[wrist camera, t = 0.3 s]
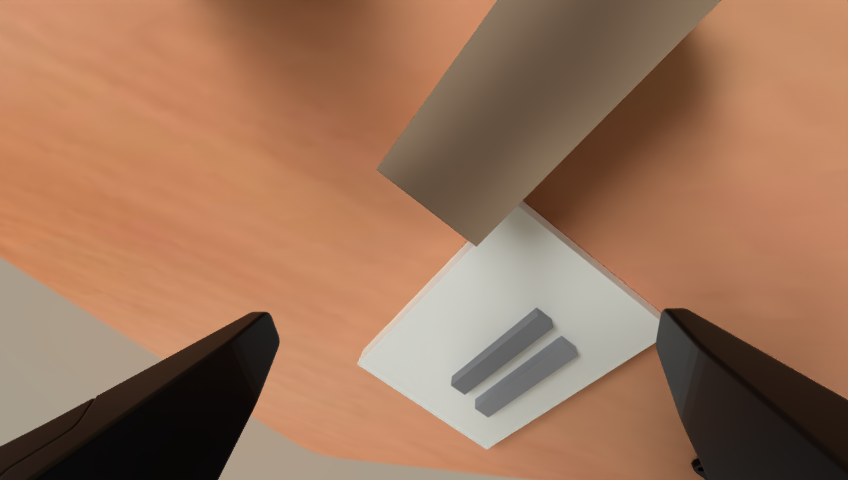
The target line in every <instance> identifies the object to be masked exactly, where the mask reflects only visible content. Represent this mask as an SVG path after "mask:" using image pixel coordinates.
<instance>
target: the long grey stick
mask: <svg viewBox="0 0 848 480" xmlns="http://www.w3.org/2000/svg"><path fill="white" fill-rule="evenodd" d="M577 356H578V353H577V349H576V346H575V345H573V344H572V343H571V342H569V341H568V340H567V339H565V338H564V337H563V336H560V337H559V338H557V339H556V340H554V341H553V342H552V343H550V344H549V345H548V346H546V347H545V348H544V349H542V350H541V351H540V352H538V353H537V354H535V355H534V356H533V357H531V358H530V359H529V360H527V361H526V362H525V363H523V364H522V365H521V366H519V367H518V368H517V369H515V370H514V371H512V372H511V373H510V374H508V375H507V376H506V377H504V378H503V379H502V380H500V381H499V382H498V383H496V384H495V385H494V386H492V387H491V388H489V389H488V390H487V391H485V392H484V393H483V394H481V395H480V396H479V397H477V398H476V399H475V409H476V410H478V411H479V412H481V413H482V414H483V415H485V416H486V417H490V416H491V415H493V414H494V413H496V412H497V411H499V410H500V409H501V408H503V407H504V406H506V405H507V404H509V403H510V402H512V401H513V400H515V399H516V398H517V397H519V396H520V395H522V394H523V393H525V392H526V391H528V390H529V389H531V388H532V387H533V386H535V385H536V384H538V383H539V382H541V381H542V380H544V379H545V378H546V377H548V376H549V375H551V374H552V373H554V372H555V371H557V370H558V369H560V368H561V367H562V366H564V365H565V364H567V363H568V362H570V361H571V360H573V359H574V358H576V357H577Z"/></svg>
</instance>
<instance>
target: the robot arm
mask: <svg viewBox="0 0 848 480" xmlns="http://www.w3.org/2000/svg"><path fill="white" fill-rule="evenodd" d="M278 347H279V335H278V332H277V330H276V327H275V325H274V322H273V319H272V317H271V315H270V314H269V313H268V312H251V313H249V314H247V315H245V316H244V317H242V318H240V319H238V320H236V321H234V322H232V323H231V324H229V325H227V326H225V327H223V328H221V329H220V330H218V331H216V332H214V333H212V334H210V335H209V336H207V337H205V338H203V339H201V340H199V341H197V342H196V343H194V344H192V345H190V346H188V347H186V348H185V349H183V350H181V351H179V352H177V353H175V354H174V355H172V356H170V357H168V358H166V359H164V360H162V361H161V362H159V363H157V364H155V365H153V366H151V367H150V368H148V369H146V370H144V371H142V372H140V373H139V374H137V375H135V376H133V377H131V378H129V379H127V380H126V381H124V382H122V383H120V384H118V385H116V386H115V387H113V388H111V389H109V390H107V391H105V392H103V393H102V394H100V395H98V396H97V397H96V398H95V399H91V400H89V401H87V402H85V403H83V404H81V405H80V406H78V407H76V408H74V409H72V410H70V411H68V412H66V413H64V414H63V415H61V416H59V417H57V418H55V419H53V420H51V421H49V422H47V423H46V424H44V425H42V426H40V427H38V428H36V429H34V430H32V431H30V432H28V433H26V434H24V435H22V436H20V437H18V438H16V439H14V440H12V441H10V442H8V443H6V444H4V445H2V446H0V480H218V479H219V477H220V475H221V473H222V471H223V469H224V467H225V465H226V463H227V461H228V459H229V457H230V455H231V453H232V451H233V449H234V447H235V445H236V443H237V441H238V439H239V437H240V435H241V433H242V431H243V429H244V427H245V425H246V423H247V421H248V419H249V417H250V415H251V413H252V411H253V409H254V407H255V405H256V403H257V401H258V398H259V396H260V393H261V391H262V388H263V386H264V383H265V381H266V378H267V376H268V373H269V370H270V368H271V365H272V363H273V360H274V357H275V355H276V352H277V350H278ZM656 347H657V351H658V354H659V357H660V360H661V363H662V366H663V369H664V372H665V375H666V378H667V381H668V384H669V387H670V390H671V393H672V396H673V399H674V402H675V405H676V408H677V410H678V413H679V416H680V419H681V421H682V423H683V426H684V428H685V430H686V432H687V435H688V437H689V439H690V441H691V443H692V445H693V447H694V449H695V452H696V454H697V456H698V458H699V459H697V460H694V461H693V462H692V463H691V465H692V467H693V469H694V471H695V472H696V473H697V474H699V475H700V476H701V477H703V478H704V479H706V480H848V400H847V399H845V398H843V397H842V396H840V395H838V394H836V393H834V392H833V391H831V390H829V389H827V388H826V387H824V386H822V385H820V384H819V383H817V382H815V381H813V380H812V379H810V378H808V377H806V376H804V375H803V374H801V373H799V372H797V371H796V370H794V369H792V368H790V367H789V366H787V365H785V364H783V363H781V362H780V361H778V360H776V359H774V358H773V357H771V356H769V355H767V354H766V353H764V352H762V351H760V350H759V349H757V348H755V347H753V346H751V345H750V344H748V343H746V342H744V341H743V340H741V339H739V338H737V337H736V336H734V335H732V334H730V333H728V332H727V331H725V330H723V329H721V328H720V327H718V326H716V325H714V324H713V323H711V322H709V321H707V320H706V319H704V318H702V317H700V316H698V315H697V314H695V313H693V312H691V311H690V310H688V309H684V308H667V309H664V310H663V311H662V313H661V316H660V321H659V327H658V332H657V337H656Z"/></svg>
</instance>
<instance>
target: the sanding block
mask: <svg viewBox="0 0 848 480" xmlns="http://www.w3.org/2000/svg"><path fill="white" fill-rule="evenodd" d="M720 1H721V0H497V2H496V3H495V4H494V6H493V7H492V9H491V10H490V11H489V13H488V14H487V16H486V17H485V18H484V20H483V21H482V23H481V24H480V25H479V27H478V28H477V30H476V31H475V32H474V34H473V35H472V36H471V38H470V39H469V41H468V42H467V43H466V45H465V46H464V48H463V49H462V50H461V52H460V53H459V55H458V56H457V57H456V59H455V60H454V62H453V63H452V64H451V66H450V67H449V69H448V70H447V71H446V73H445V74H444V76H443V77H442V78H441V80H440V81H439V83H438V84H437V85H436V87H435V88H434V90H433V91H432V92H431V94H430V95H429V97H428V98H427V99H426V101H425V102H424V103H423V105H422V106H421V108H420V109H419V110H418V112H417V113H416V115H415V116H414V117H413V119H412V120H411V122H410V123H409V124H408V126H407V127H406V129H405V130H404V131H403V133H402V134H401V136H400V137H399V138H398V140H397V141H396V143H395V144H394V145H393V147H392V148H391V150H390V151H389V152H388V154H387V155H386V157H385V158H384V159H383V161H382V162H381V164H380V165H379V166H378V168H377V169H376V170H377V171H379V172H380V173H381V174H383V175H384V176H385V177H386V178H388V179H389V180H390V181H392V182H393V183H394V184H395V185H397V186H398V187H399V188H401V189H402V190H403V191H405V192H406V193H407V194H408V195H410V196H411V197H412V198H414V199H415V200H416V201H418V202H419V203H420V204H421V205H423V206H424V207H425V208H427V209H428V210H429V211H431V212H432V213H433V214H434V215H436V216H437V217H438V218H440V219H441V220H442V221H444V222H445V223H446V224H447V225H449V226H450V227H451V228H453V229H454V230H455V231H457V232H458V233H459V234H460V235H462V236H463V237H464V238H466V239H467V240H468V241H469V242H471V243H472V244H473V245H475V246H476V247H477V246H478V245H479V244H480V243H481V242H482V241H483V240H484V239H485V238H486V237H487V236H488V235H489V234H490V233H491V232H492V231H493V230H494V229H495V228H496V227H497V226H498V225H499V224H500V223H501V222H502V221H503V220H504V219H505V218H506V217H507V216H508V215H509V214H510V213H511V212H512V211H513V210H514V209H515V208H516V207H517V206H518V205H519V204H520V203H521V202H522V200H523V199H524V198H525V197H526V196H527V195H528V194H529V193H530V192H531V191H532V190H533V189H534V188H535V187H536V186H537V185H538V184H539V183H540V182H541V181H542V180H543V179H544V178H545V177H546V176H547V175H548V174H549V173H550V172H551V171H552V170H553V169H554V168H555V167H556V166H557V165H558V164H559V163H560V162H561V161H562V160H563V159H564V158H565V157H566V156H567V155H568V154H569V153H570V152H571V151H572V150H573V149H574V148H575V147H576V146H577V145H578V144H579V143H580V142H581V141H582V140H583V139H584V138H585V137H586V136H587V135H588V134H589V133H590V132H591V131H592V130H593V129H594V128H595V127H596V126H597V125H598V124H599V123H600V122H601V121H602V120H603V119H604V118H605V117H606V116H607V115H608V114H609V113H610V112H611V111H612V110H613V109H614V108H615V107H616V106H617V105H618V104H619V103H620V102H621V101H622V100H623V99H624V98H625V97H626V96H627V95H628V94H629V93H630V92H631V91H632V90H633V89H634V88H635V87H636V86H637V85H638V84H639V83H640V82H641V81H642V80H643V79H644V78H645V77H646V76H647V75H648V74H649V73H650V72H651V71H652V70H653V69H654V68H655V67H656V66H657V65H658V64H659V63H660V62H661V61H662V60H663V59H664V58H665V57H666V56H667V55H668V54H669V53H670V52H671V51H672V50H673V49H674V48H675V46H676V45H677V44H678V43H679V42H680V41H681V40H682V39H683V38H684V37H685V36H686V35H687V34H688V33H689V32H690V31H691V30H692V29H693V28H694V27H695V26H696V25H697V24H698V23H699V22H700V21H701V20H702V19H703V18H704V17H705V16H706V15H707V14H708V13H709V12H710V11H711V10H712V9H713V8H714V7H715V6H716V5H717V4H718V3H719V2H720Z"/></svg>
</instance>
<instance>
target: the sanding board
mask: <svg viewBox="0 0 848 480" xmlns="http://www.w3.org/2000/svg"><path fill="white" fill-rule="evenodd" d="M536 307H537V308H538V309H539V310H541V311H542V312H543V313H545V314H546V315H547V316H549V317H550V318H551V319H552V323H553V328H552V329H551V330H550V331H548V332H547V333H546V334H544V335H543V336H542V337H540V338H539V339H538V340H536V341H535V342H534V343H532V344H531V345H530V346H528V347H527V348H526V349H525V350H523V351H522V352H521V353H519V354H518V355H517V356H515V357H514V358H513V359H511V360H510V361H509V362H507V363H506V364H505V365H503V366H502V367H501V368H500V369H498V370H497V371H496V372H494V373H493V374H492V375H490V376H489V377H488V378H486V379H485V380H484V381H482V382H481V383H480V384H478V385H477V386H476V387H475V388H473V389H472V390H471V391H469V392H468V393H467V394H465V395H464V394H463V393H461V392H460V391H458V390H457V389H455V388H454V387H452V386H451V380H452V376H453V375H454V374H455V373H457V372H458V371H459V370H460V369H462V368H463V367H464V366H465V365H466V364H468V363H469V362H470V361H471V360H473V359H474V358H475V357H476V356H477V355H479V354H480V353H481V352H482V351H484V350H485V349H486V348H487V347H489V346H490V345H491V344H492V343H493V342H495V341H496V340H497V339H498V338H500V337H501V336H502V335H503V334H505V333H506V332H507V331H508V330H509V329H511V328H512V327H513V326H514V325H516V324H517V323H518V322H519V321H520V320H522V319H523V318H524V317H525V316H527V315H528V314H529V313H530V312H532V311H533V310H534V309H535V308H536ZM660 316H661V313H660V312H659V311H658V310H656V309H655V308H654V307H653V306H652V305H650V304H649V303H648V302H647V301H645V300H644V299H643V298H642V297H640V296H639V295H638V294H637V293H636V292H634V291H633V290H632V289H631V288H629V287H628V286H627V285H626V284H624V283H623V282H622V281H621V280H620V279H618V278H617V277H616V276H615V275H613V274H612V273H611V272H610V271H608V270H607V269H606V268H605V267H604V266H602V265H601V264H600V263H599V262H597V261H596V260H595V259H594V258H592V257H591V256H590V255H589V254H588V253H586V252H585V251H584V250H583V249H581V248H580V247H579V246H578V245H576V244H575V243H574V242H573V241H572V240H570V239H569V238H568V237H567V236H565V235H564V234H563V233H562V232H560V231H559V230H558V229H557V228H556V227H554V226H553V225H552V224H551V223H549V222H548V221H547V220H546V219H544V218H543V217H542V216H541V215H540V214H538V213H537V212H536V211H535V210H533V209H532V208H531V207H530V206H528V205H527V204H526V203H525V202H524V201H522V202H521V203H520V204H519V205H518V206H517V207H516V208H515V209H514V210H513V211H512V212H511V213H510V214H509V215H508V216H507V217H506V218H505V219H504V220H503V221H502V222H501V223H500V224H499V225H498V226H497V227H496V228H495V229H494V230H493V231H492V232H491V233H490V234H489V235H488V236H487V237H486V238H485V239H484V240H483V241H482V242H481V243H480V244H479V245H478V246H477V247H476V246H475V245H473V244H472V243H471V242H469V241H468V242H467V243H466V244H465V245H464V246H463V247H462V248H461V249H460V250H459V251H458V252H457V253H456V254H455V255H454V256H453V257H452V258H451V259H450V260H449V261H448V262H447V264H446V265H445V266H444V267H443V268H442V269H441V270H440V271H439V272H438V273H437V274H436V275H435V276H434V277H433V278H432V279H431V280H430V281H429V282H428V283H427V284H426V285H425V286H424V287H423V288H422V289H421V290H420V291H419V293H418V294H417V295H416V296H415V297H414V298H413V299H412V300H411V301H410V302H409V303H408V304H407V305H406V306H405V307H404V308H403V309H402V310H401V311H400V312H399V313H398V314H397V315H396V316H395V317H394V318H393V319H392V321H391V322H390V323H389V324H388V325H387V326H386V327H385V328H384V329H383V330H382V331H381V332H380V333H379V334H378V335H377V336H376V337H375V338H374V339H373V340H372V341H371V342H370V343H369V344H368V345H367V346H366V347H365V348H364V350H363V352H362V354H361V357H360V359H359V361H358V365H359V366H361V367H362V368H364V369H365V370H367V371H368V372H370V373H371V374H373V375H374V376H376V377H377V378H379V379H380V380H382V381H383V382H385V383H386V384H388V385H389V386H391V387H392V388H394V389H396V390H397V391H399V392H400V393H402V394H403V395H405V396H406V397H408V398H409V399H411V400H412V401H414V402H415V403H417V404H418V405H420V406H421V407H423V408H424V409H426V410H427V411H429V412H430V413H432V414H433V415H435V416H436V417H438V418H439V419H441V420H443V421H444V422H446V423H447V424H449V425H450V426H452V427H453V428H455V429H456V430H458V431H459V432H461V433H462V434H464V435H465V436H467V437H468V438H470V439H471V440H473V441H474V442H476V443H477V444H479V445H480V446H482V447H483V448H485V449H488V448H490V447H492V446H493V445H495V444H496V443H498V442H499V441H501V440H503V439H504V438H506V437H507V436H509V435H510V434H512V433H514V432H515V431H517V430H518V429H520V428H521V427H523V426H525V425H526V424H528V423H529V422H531V421H533V420H534V419H536V418H537V417H539V416H540V415H542V414H544V413H545V412H547V411H548V410H550V409H551V408H553V407H555V406H556V405H558V404H559V403H561V402H562V401H564V400H566V399H567V398H569V397H570V396H572V395H574V394H575V393H577V392H578V391H580V390H581V389H583V388H585V387H586V386H588V385H589V384H591V383H592V382H594V381H596V380H597V379H599V378H600V377H602V376H603V375H605V374H607V373H608V372H610V371H611V370H613V369H614V368H616V367H618V366H619V365H621V364H622V363H624V362H626V361H627V360H629V359H630V358H632V357H633V356H635V355H637V354H638V353H640V352H641V351H643V350H644V349H646V348H648V347H649V346H651V345H652V344H654V343H655V342H656V337H657V332H658V327H659V321H660ZM560 336H563V337H564V338H565V339H567V340H568V341H569V342H571V343H572V344H573V345H575V346H576V349H577V353H578V356H577V357H576V358H574V359H573V360H571V361H570V362H568V363H567V364H565V365H564V366H562V367H561V368H560V369H558V370H557V371H555V372H554V373H552V374H551V375H549V376H548V377H546V378H545V379H544V380H542V381H541V382H539V383H538V384H536V385H535V386H533V387H532V388H531V389H529V390H528V391H526V392H525V393H523V394H522V395H520V396H519V397H517V398H516V399H515V400H513V401H512V402H510V403H509V404H507V405H506V406H504V407H503V408H501V409H500V410H499V411H497V412H496V413H494V414H493V415H491V416H490V417H486V416H485V415H483V414H482V413H481V412H479V411H478V410H476V409H475V399H476V398H477V397H479V396H480V395H481V394H483V393H484V392H485V391H487V390H488V389H489V388H491V387H492V386H494V385H495V384H496V383H498V382H499V381H500V380H502V379H503V378H504V377H506V376H507V375H508V374H510V373H511V372H512V371H514V370H515V369H517V368H518V367H519V366H521V365H522V364H523V363H525V362H526V361H527V360H529V359H530V358H531V357H533V356H534V355H535V354H537V353H538V352H540V351H541V350H542V349H544V348H545V347H546V346H548V345H549V344H550V343H552V342H553V341H554V340H556V339H557V338H559V337H560Z"/></svg>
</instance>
